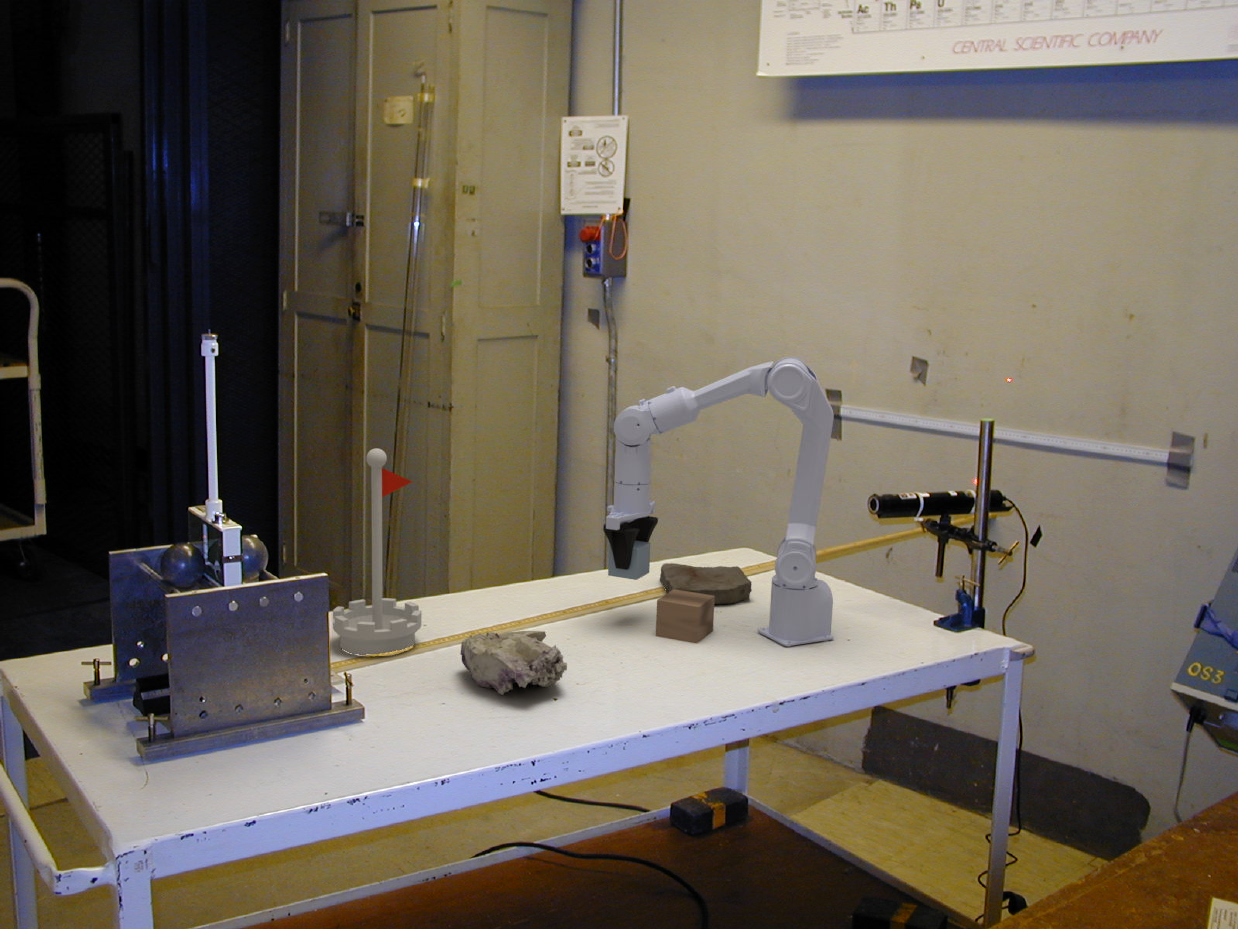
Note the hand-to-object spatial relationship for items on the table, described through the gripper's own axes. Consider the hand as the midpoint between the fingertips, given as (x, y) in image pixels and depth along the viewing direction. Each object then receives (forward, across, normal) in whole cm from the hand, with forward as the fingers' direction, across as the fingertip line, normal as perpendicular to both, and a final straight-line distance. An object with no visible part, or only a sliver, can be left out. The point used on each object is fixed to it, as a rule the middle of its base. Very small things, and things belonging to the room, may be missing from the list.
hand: (629, 564), depth 192 cm
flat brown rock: (+10, -23, +5) cm, 25 cm away
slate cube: (+2, 0, 0) cm, 2 cm away
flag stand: (+10, +29, -28) cm, 42 cm away
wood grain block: (+10, 0, +10) cm, 14 cm away
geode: (+10, +32, -2) cm, 34 cm away
